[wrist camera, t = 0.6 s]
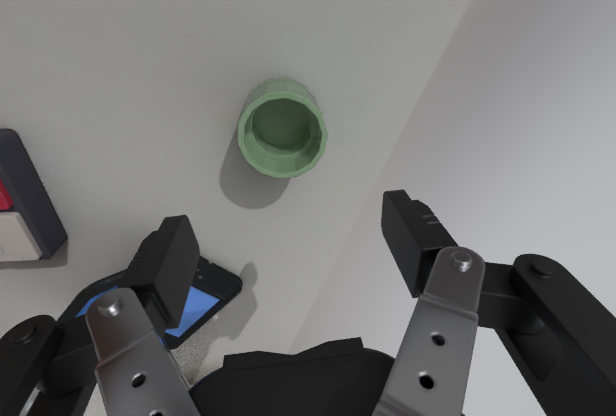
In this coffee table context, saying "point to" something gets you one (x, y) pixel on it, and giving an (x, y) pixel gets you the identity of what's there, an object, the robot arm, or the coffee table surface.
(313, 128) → the bowl
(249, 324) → the coffee table surface
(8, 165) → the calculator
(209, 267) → the game console
